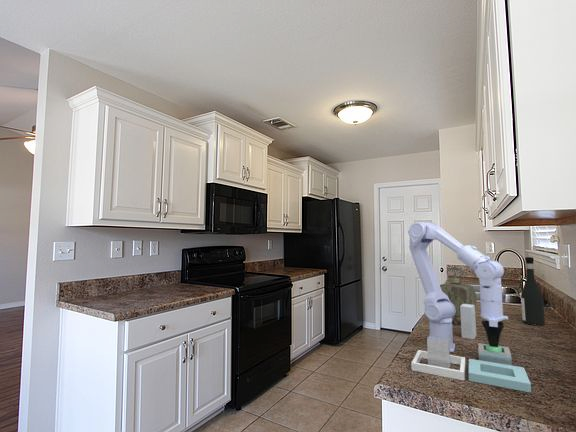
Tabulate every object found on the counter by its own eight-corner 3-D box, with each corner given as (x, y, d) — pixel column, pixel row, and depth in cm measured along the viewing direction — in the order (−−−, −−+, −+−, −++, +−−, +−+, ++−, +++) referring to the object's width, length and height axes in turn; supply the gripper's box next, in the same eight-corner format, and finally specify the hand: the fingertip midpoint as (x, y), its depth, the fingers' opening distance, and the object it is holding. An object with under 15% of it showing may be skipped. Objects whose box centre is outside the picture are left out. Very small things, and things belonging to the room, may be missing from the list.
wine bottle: (519, 323, 144) (515, 257, 147) (526, 321, 148) (522, 256, 151) (541, 327, 137) (536, 257, 140) (547, 324, 141) (543, 257, 144)
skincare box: (464, 334, 125) (462, 303, 127) (476, 336, 123) (475, 304, 124) (461, 337, 121) (459, 305, 122) (473, 339, 118) (472, 307, 119)
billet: (429, 363, 94) (428, 335, 95) (450, 367, 91) (449, 338, 92) (428, 367, 91) (427, 339, 91) (449, 371, 88) (448, 342, 89)
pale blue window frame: (469, 365, 92) (469, 358, 92) (524, 375, 86) (523, 367, 86) (468, 380, 82) (468, 372, 82) (531, 392, 75) (530, 384, 76)
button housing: (478, 356, 100) (478, 343, 101) (509, 360, 96) (508, 347, 97) (479, 364, 94) (478, 350, 94) (512, 369, 90) (511, 354, 90)
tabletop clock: (477, 324, 140) (474, 268, 143) (471, 328, 134) (469, 269, 136) (443, 319, 151) (441, 266, 153) (436, 322, 144) (434, 267, 146)
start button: (486, 354, 98) (485, 343, 98) (501, 357, 96) (501, 345, 96) (486, 358, 94) (486, 346, 95) (502, 361, 92) (502, 349, 93)
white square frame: (418, 356, 100) (418, 349, 100) (465, 364, 93) (465, 357, 93) (411, 370, 89) (411, 362, 89) (464, 380, 82) (464, 372, 82)
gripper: (509, 305, 88) (512, 355, 87) (504, 298, 101) (507, 342, 100) (479, 303, 92) (482, 351, 91) (479, 296, 104) (481, 338, 103)
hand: (493, 346), depth 95 cm, fingers closed, pressing on start button
